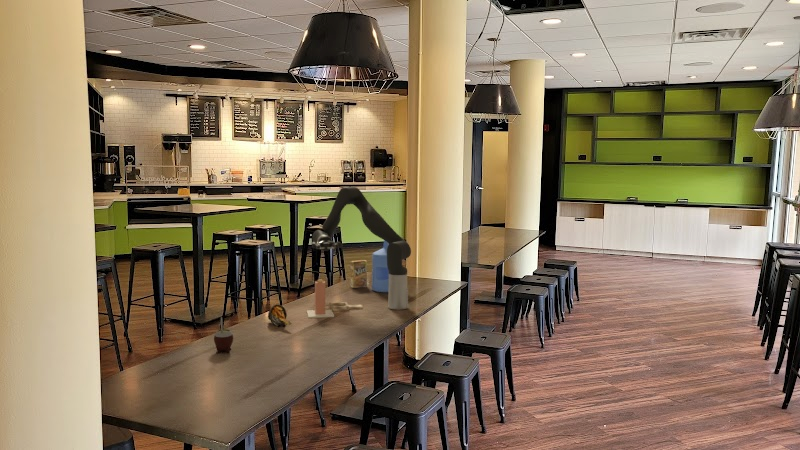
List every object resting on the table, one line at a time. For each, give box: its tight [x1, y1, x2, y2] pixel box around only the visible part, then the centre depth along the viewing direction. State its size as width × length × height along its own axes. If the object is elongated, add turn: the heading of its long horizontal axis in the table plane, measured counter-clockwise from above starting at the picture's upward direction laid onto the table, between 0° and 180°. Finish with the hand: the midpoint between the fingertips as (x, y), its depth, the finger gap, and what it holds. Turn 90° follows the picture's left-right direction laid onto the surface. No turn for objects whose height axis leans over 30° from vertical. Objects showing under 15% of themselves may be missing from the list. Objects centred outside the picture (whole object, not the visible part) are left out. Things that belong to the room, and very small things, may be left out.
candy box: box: [349, 259, 368, 289], centre depth 360 cm, size 9×4×15 cm, turn 118°
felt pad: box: [306, 309, 335, 319], centre depth 298 cm, size 12×12×1 cm
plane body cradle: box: [325, 301, 364, 312], centre depth 310 cm, size 23×9×2 cm, turn 102°
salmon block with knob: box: [314, 278, 326, 314], centre depth 298 cm, size 4×4×16 cm
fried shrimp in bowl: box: [267, 303, 292, 327], centre depth 278 cm, size 9×11×18 cm
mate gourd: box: [213, 316, 234, 354], centre depth 239 cm, size 8×8×15 cm
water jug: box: [371, 240, 389, 293], centre depth 353 cm, size 16×16×28 cm
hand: (327, 247), depth 311 cm, fingers open, 8 cm apart
